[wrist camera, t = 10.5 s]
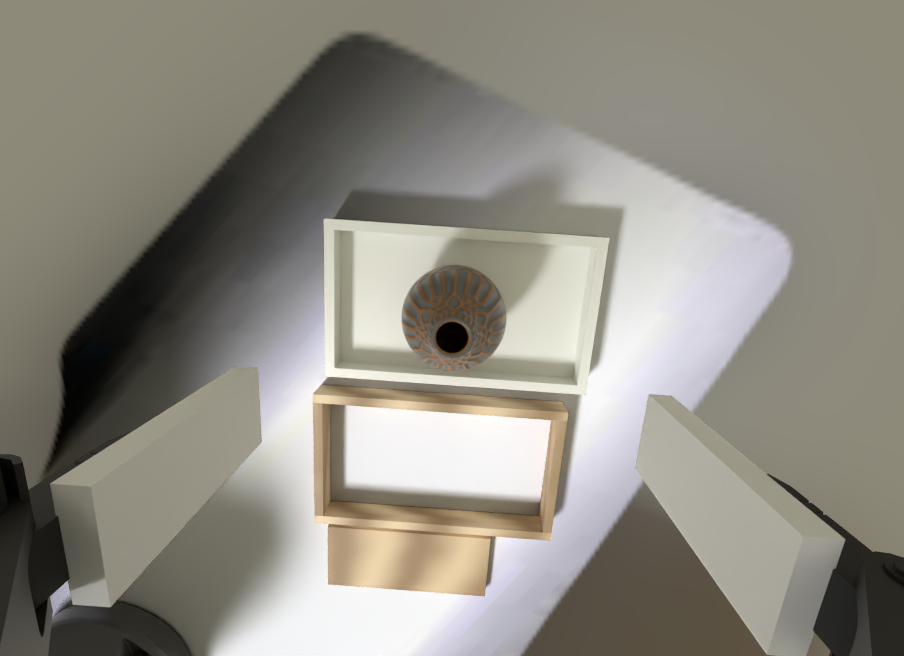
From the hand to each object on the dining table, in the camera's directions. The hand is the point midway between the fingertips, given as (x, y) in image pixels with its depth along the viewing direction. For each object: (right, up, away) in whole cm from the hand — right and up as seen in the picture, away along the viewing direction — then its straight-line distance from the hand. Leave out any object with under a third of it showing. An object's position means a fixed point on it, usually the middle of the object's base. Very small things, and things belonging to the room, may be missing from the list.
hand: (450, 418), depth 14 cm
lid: (-4, -17, +24) cm, 29 cm away
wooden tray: (-1, -8, +21) cm, 23 cm away
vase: (0, +5, +18) cm, 18 cm away
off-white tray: (+1, +5, +18) cm, 19 cm away
